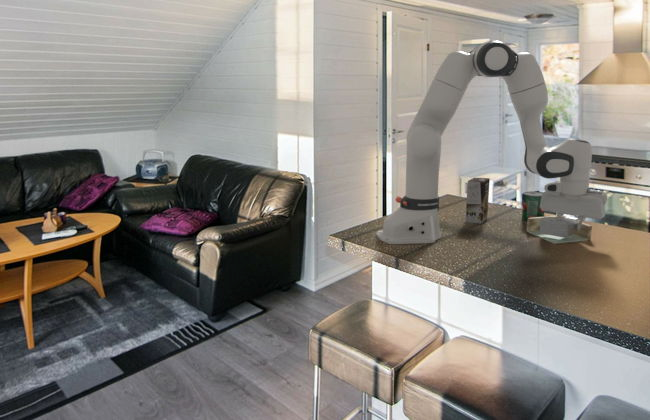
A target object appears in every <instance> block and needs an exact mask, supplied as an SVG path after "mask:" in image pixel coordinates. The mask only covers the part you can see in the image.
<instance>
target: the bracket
mask: <svg viewBox="0 0 650 420" xmlns="http://www.w3.org/2000/svg"><path fill="white" fill-rule="evenodd" d="M578 221H579V217H575V216H566V218H564V219H562V220H561V219H555V218H549V217H545V216H544V218H541V220H540V233H542V234H547V235H552V236H558V237H563V238H568V237H570V236H571V235H573V234H575V233H577V229H575V224H576V223H578Z"/></svg>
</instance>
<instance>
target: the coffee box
mask: <svg viewBox="0 0 650 420" xmlns="http://www.w3.org/2000/svg"><path fill="white" fill-rule="evenodd" d="M466 187H467V188H466V189H467V190H466V203H465V204H466V206H465V222H466V223H472V224H481V225H482V224H483V223H484V222H485V221H486V220H488V214H489V198H490V197H489V195H490V177H489V178H488V177H487V178H486V177H472V178H471V179H468V180H467V186H466Z"/></svg>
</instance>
